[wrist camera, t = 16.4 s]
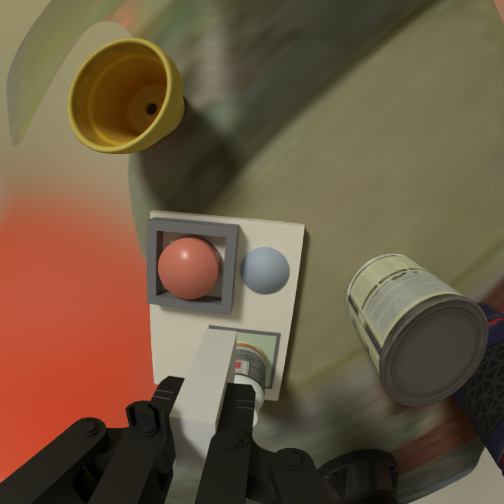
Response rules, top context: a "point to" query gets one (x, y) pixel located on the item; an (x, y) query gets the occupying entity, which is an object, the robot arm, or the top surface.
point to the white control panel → (226, 290)
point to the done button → (189, 267)
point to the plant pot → (125, 97)
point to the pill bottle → (251, 371)
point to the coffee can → (415, 329)
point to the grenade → (488, 389)
